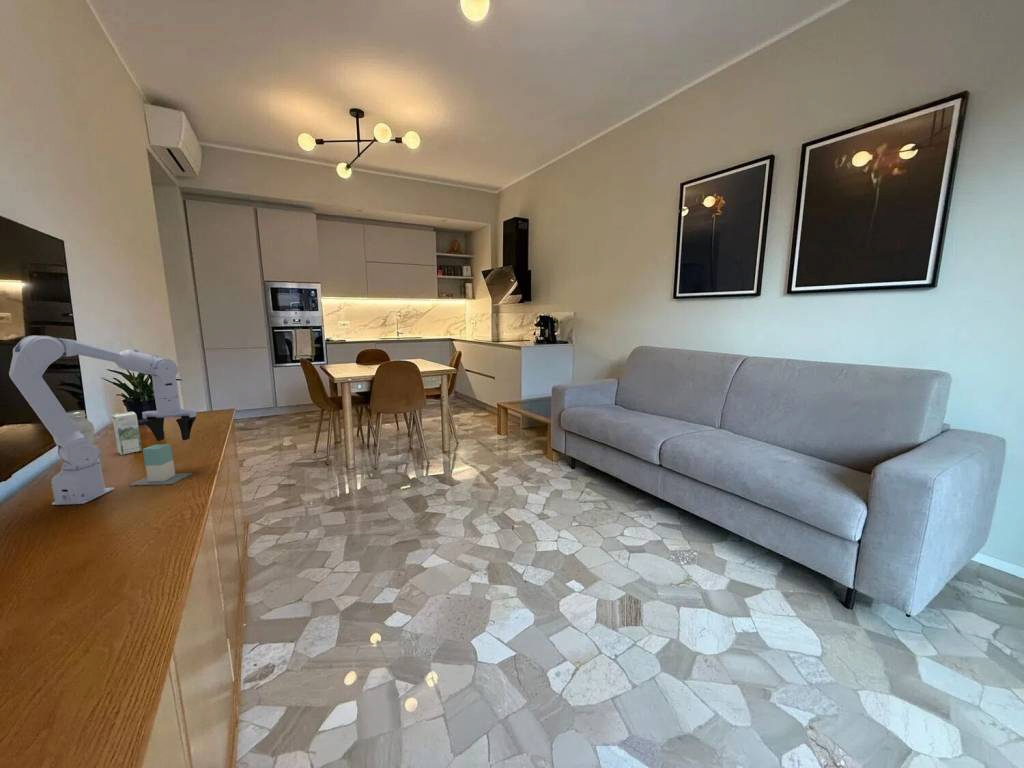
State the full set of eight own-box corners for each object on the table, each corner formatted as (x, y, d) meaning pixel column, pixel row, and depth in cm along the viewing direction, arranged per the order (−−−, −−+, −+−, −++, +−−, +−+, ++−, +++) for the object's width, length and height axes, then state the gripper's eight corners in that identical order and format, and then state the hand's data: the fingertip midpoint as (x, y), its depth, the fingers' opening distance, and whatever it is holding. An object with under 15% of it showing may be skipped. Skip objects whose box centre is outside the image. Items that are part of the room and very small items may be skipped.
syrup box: (138, 448, 154) (131, 410, 152) (142, 451, 151) (136, 412, 148) (117, 452, 150) (110, 413, 147) (121, 455, 146) (114, 416, 144)
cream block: (164, 481, 122) (161, 464, 121) (148, 481, 122) (145, 465, 121) (175, 475, 127) (173, 459, 126) (160, 475, 126) (157, 460, 125)
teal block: (161, 465, 121) (158, 448, 120) (145, 465, 121) (142, 449, 120) (172, 459, 125) (170, 444, 125) (157, 460, 125) (155, 444, 124)
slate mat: (172, 484, 120) (172, 483, 120) (128, 486, 120) (128, 484, 119) (191, 474, 128) (191, 473, 128) (150, 475, 127) (150, 474, 127)
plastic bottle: (67, 476, 128) (54, 413, 125) (95, 468, 134) (83, 408, 131) (79, 478, 126) (66, 414, 122) (107, 470, 132) (95, 409, 129)
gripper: (200, 394, 131) (206, 435, 133) (152, 395, 130) (159, 436, 132) (184, 398, 124) (191, 442, 126) (133, 399, 123) (141, 443, 126)
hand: (173, 439), depth 129 cm, fingers open, 7 cm apart
